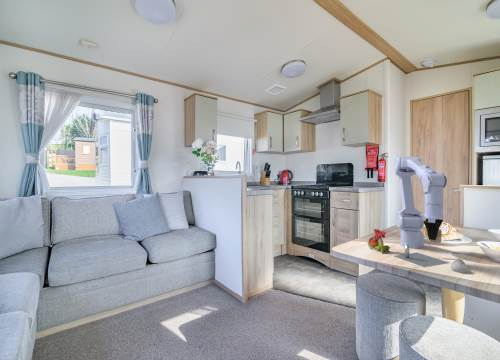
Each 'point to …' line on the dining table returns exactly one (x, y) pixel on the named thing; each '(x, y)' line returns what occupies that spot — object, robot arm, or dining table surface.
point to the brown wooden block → (438, 239)
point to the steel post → (406, 250)
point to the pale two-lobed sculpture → (459, 266)
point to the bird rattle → (374, 242)
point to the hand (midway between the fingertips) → (433, 238)
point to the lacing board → (422, 259)
